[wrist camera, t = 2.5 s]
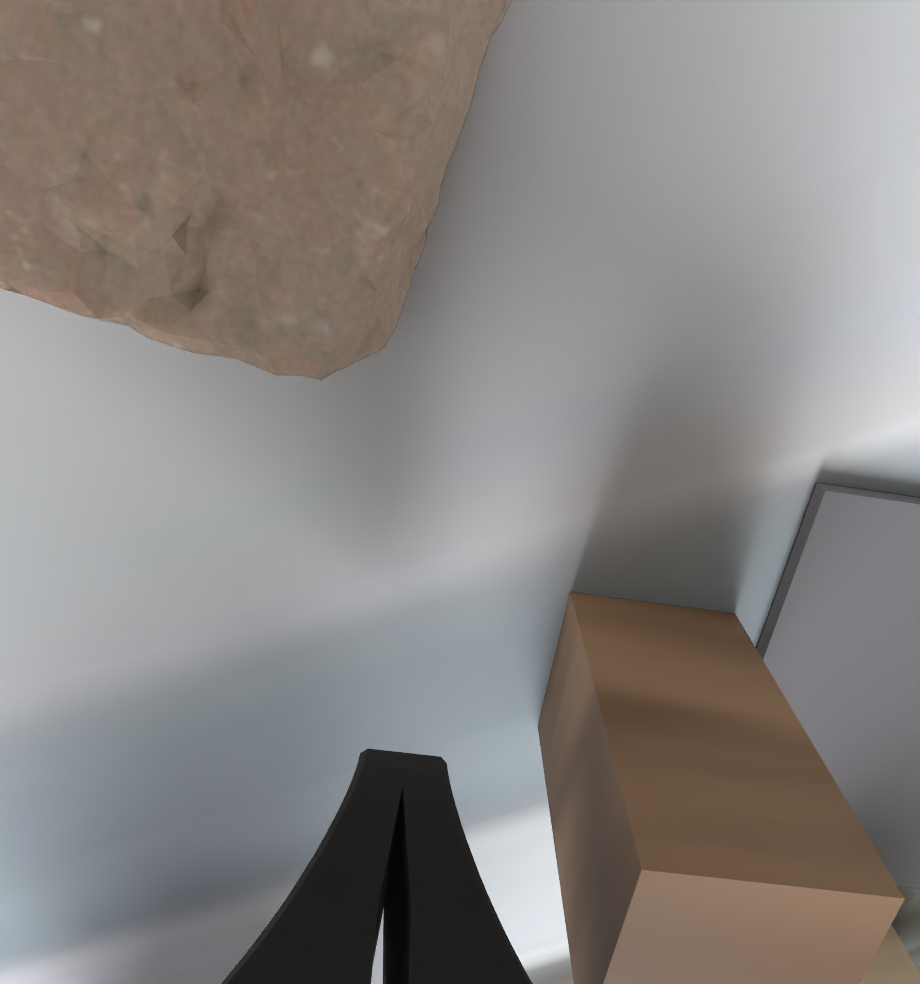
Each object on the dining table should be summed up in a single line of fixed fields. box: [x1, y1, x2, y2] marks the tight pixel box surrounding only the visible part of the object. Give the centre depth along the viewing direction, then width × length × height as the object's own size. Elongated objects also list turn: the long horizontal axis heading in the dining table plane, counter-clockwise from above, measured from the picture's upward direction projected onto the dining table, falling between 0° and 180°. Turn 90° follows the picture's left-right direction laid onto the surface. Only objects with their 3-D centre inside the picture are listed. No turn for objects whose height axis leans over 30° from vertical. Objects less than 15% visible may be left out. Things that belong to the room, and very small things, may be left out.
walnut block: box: [538, 592, 905, 984], centre depth 14 cm, size 4×4×7 cm
